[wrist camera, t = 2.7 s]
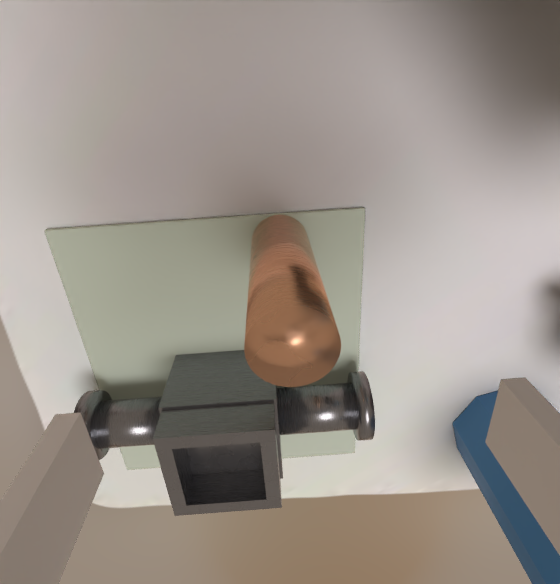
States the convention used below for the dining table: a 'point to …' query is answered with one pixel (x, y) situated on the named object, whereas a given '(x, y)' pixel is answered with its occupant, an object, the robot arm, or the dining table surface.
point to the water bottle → (504, 493)
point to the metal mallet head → (224, 428)
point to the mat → (195, 301)
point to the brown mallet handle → (287, 308)
